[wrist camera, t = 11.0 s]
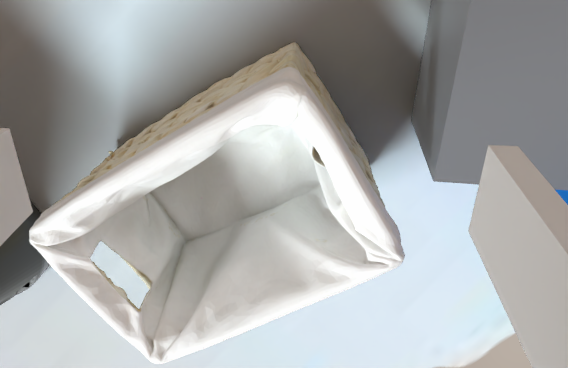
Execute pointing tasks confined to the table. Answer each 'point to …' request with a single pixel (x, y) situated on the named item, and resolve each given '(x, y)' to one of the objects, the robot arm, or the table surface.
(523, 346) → the robot arm
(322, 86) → the storage basket
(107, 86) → the table surface
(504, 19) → the box
